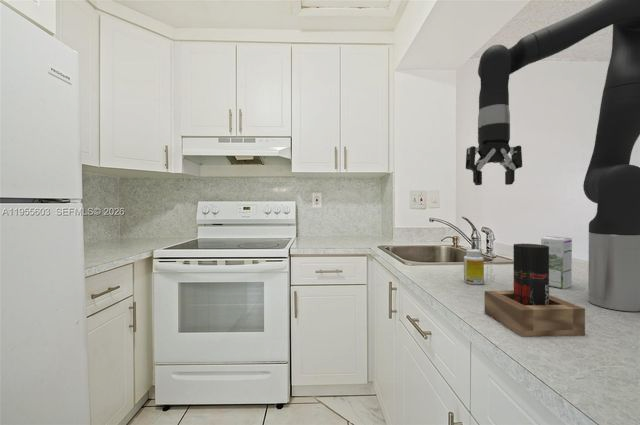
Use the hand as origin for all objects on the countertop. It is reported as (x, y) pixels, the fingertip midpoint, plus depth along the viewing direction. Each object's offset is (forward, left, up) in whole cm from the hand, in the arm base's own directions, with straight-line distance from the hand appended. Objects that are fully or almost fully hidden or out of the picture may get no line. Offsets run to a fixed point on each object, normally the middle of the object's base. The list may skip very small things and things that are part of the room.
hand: (493, 184), depth 79 cm
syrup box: (-22, -6, -30) cm, 38 cm away
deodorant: (+4, +20, -29) cm, 35 cm away
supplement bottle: (0, -11, -30) cm, 32 cm away
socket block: (+5, +20, -30) cm, 36 cm away
